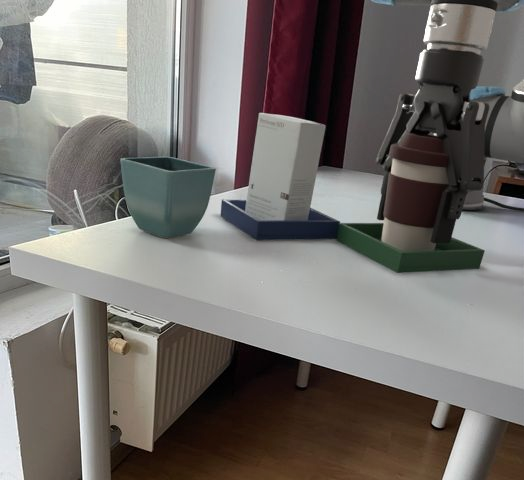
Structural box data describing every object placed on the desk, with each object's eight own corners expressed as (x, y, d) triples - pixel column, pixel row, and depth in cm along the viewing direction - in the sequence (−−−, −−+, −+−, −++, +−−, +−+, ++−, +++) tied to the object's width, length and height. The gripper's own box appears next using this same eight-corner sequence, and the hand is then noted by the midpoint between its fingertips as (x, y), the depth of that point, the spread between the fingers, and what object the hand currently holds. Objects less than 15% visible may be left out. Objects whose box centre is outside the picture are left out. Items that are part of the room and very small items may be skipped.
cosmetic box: (243, 218, 84) (253, 112, 77) (269, 214, 88) (281, 113, 81) (285, 232, 79) (300, 120, 72) (311, 227, 83) (327, 121, 77)
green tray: (412, 239, 86) (416, 222, 85) (479, 268, 75) (485, 250, 74) (336, 240, 80) (339, 222, 79) (397, 272, 69) (402, 252, 68)
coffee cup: (435, 245, 82) (462, 138, 75) (448, 265, 73) (481, 145, 66) (368, 236, 82) (389, 128, 76) (373, 255, 73) (398, 134, 67)
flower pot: (212, 235, 75) (218, 167, 71) (168, 246, 68) (171, 171, 64) (164, 221, 79) (167, 155, 75) (118, 229, 72) (118, 158, 68)
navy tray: (294, 216, 92) (296, 200, 90) (337, 239, 81) (340, 221, 80) (220, 216, 86) (221, 199, 85) (256, 240, 75) (258, 221, 74)
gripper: (371, 45, 74) (342, 209, 84) (506, 47, 56) (450, 257, 66) (414, 53, 78) (381, 210, 87) (556, 56, 59) (495, 255, 69)
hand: (411, 230), depth 76 cm, fingers open, 11 cm apart
